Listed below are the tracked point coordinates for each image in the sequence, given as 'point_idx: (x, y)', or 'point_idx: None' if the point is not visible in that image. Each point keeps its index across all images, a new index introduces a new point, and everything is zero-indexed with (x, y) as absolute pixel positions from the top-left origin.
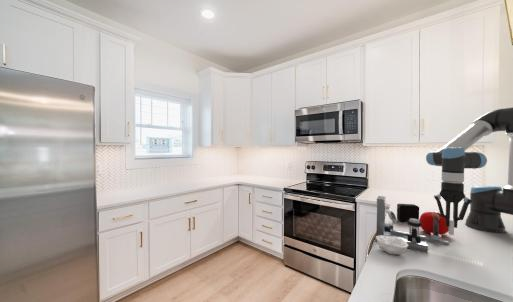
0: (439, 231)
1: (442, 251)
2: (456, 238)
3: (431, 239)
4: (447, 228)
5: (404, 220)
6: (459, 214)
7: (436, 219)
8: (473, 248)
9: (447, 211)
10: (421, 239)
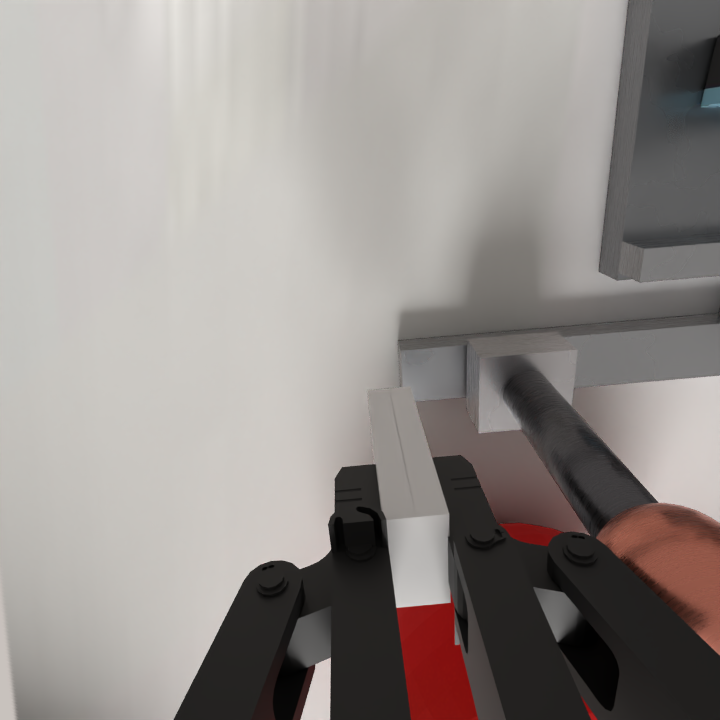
0: None
1: (472, 96)
2: None
3: None
4: (402, 615)
5: None
6: (296, 718)
7: (632, 493)
8: (213, 408)
9: (550, 678)
10: (661, 237)
